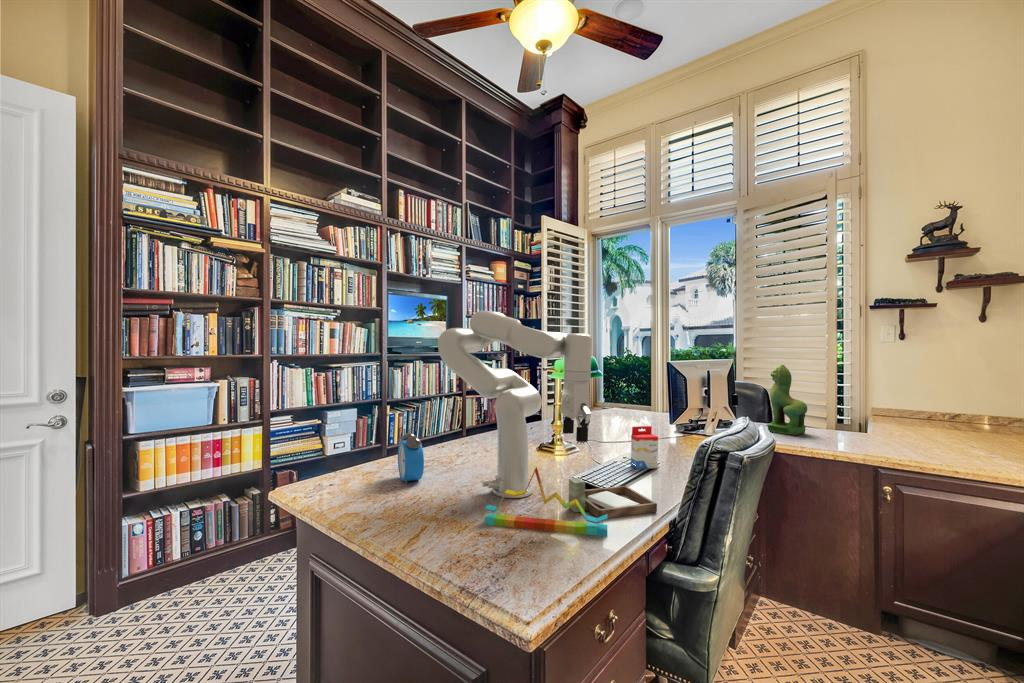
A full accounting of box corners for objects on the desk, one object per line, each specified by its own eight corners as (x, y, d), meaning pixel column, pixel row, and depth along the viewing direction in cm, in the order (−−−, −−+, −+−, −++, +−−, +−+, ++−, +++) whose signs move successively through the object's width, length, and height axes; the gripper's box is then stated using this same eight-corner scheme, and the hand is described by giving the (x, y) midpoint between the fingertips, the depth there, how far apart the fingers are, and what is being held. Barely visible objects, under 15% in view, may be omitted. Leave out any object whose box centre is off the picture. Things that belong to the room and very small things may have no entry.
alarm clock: (397, 475, 153) (397, 431, 153) (415, 473, 156) (415, 430, 156) (405, 487, 141) (405, 439, 141) (424, 484, 144) (425, 438, 144)
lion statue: (775, 428, 241) (776, 363, 241) (810, 434, 228) (811, 365, 227) (763, 431, 233) (764, 364, 233) (798, 437, 220) (799, 365, 219)
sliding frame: (584, 520, 116) (584, 490, 116) (560, 500, 131) (560, 472, 131) (656, 511, 123) (657, 482, 123) (625, 492, 137) (625, 466, 137)
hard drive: (587, 495, 130) (620, 509, 120) (607, 490, 135) (640, 502, 125) (587, 501, 130) (620, 515, 120) (607, 495, 135) (640, 508, 125)
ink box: (636, 469, 163) (637, 429, 163) (630, 465, 168) (630, 426, 168) (658, 468, 165) (658, 428, 165) (651, 464, 170) (651, 425, 170)
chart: (607, 532, 111) (608, 471, 111) (607, 537, 108) (607, 475, 107) (488, 520, 117) (488, 462, 117) (485, 525, 114) (485, 466, 114)
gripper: (553, 373, 134) (551, 430, 135) (577, 380, 118) (574, 445, 118) (576, 374, 136) (574, 430, 137) (603, 380, 120) (600, 444, 120)
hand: (574, 437), depth 127 cm, fingers open, 9 cm apart
